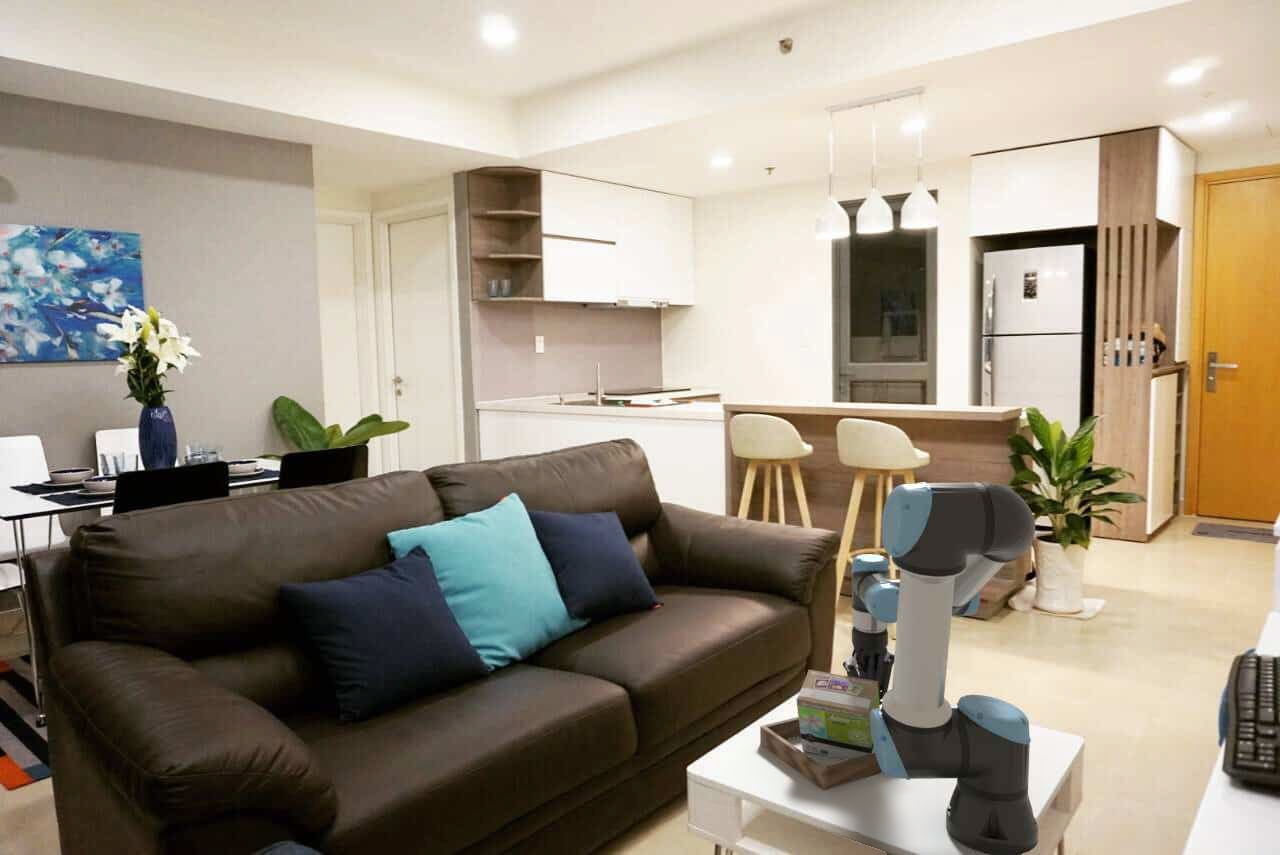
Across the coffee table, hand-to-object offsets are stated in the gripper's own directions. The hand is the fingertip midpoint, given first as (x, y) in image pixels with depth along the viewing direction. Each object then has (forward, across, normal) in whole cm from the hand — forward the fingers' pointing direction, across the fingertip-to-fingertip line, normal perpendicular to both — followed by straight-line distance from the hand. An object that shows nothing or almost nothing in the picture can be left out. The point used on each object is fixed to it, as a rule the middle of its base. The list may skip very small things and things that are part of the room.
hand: (869, 731), depth 187 cm
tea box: (+1, +7, 0) cm, 7 cm away
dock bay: (+2, +10, +1) cm, 11 cm away
